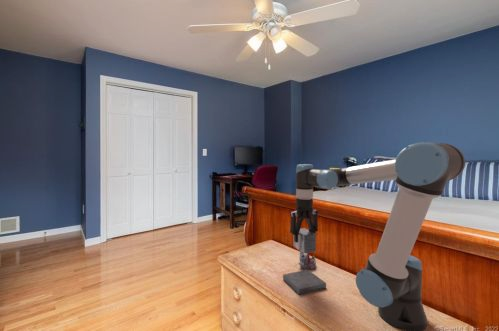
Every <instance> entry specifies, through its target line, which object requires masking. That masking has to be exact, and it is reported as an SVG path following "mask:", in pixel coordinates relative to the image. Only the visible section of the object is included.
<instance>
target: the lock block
mask: <svg viewBox="0 0 499 331" xmlns="http://www.w3.org/2000/svg"><path fill="white" fill-rule="evenodd" d="M299 235H300V250H299V252H300V251H302V252H303V253H309V254H310V253H313V252H317V251H316V250H317V244H316V243H317V238H316V237H317V233H313V232H311V231H309V229H307V228H306V227H303V228H300V232H299ZM293 247H294V248H295V249H296V242H295V241H294V240H293Z"/></svg>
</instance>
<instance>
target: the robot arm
mask: <svg viewBox="0 0 499 331" xmlns="http://www.w3.org/2000/svg"><path fill="white" fill-rule="evenodd" d="M465 167H466V158H465V155H464V153H463V152H462V151H461V150H460V148H458V147H456V146H454V145H452V144H449V143H443V142H432V141H431V142H429V141H422V142H416V143H412V144H409V145H407V146H406V147H404V148H403V149H401V150H400V151H399V153H398V154H397V155H396V158H393V159H389V160H382V161H377V162H371V163H365V164H358V165H354V166H349V167H342V168H331V169H330V168H329V169H315V168H314V165H313V164H308V163H307V164H306V163H303V164H301V163H300V164H297V165H296V169H295V177H296V178H295V183H296V184H295V186H296V187H295V191H296V192H295V197H296V198H295V206H296V209H295V210H294V211H290V213H289V214H290V229H289V230H290V231H289V232H290V234H292V235H293V242H294V241H295V242H296V248H295V249H297V250H298V251H300V235H299V232H300V229H301V227H302V223H303V221H304V220H306V224H307V227H308V230H309V231H311V232H313V233H316V232H318V231H319V228H318V226H319V225H318V214H319V211H318V209H313V206H314V199H313V198H314V187H316V188H323V189H334V188H335V187H339V186H349V185H359V184H368V183H378V182H379V183H380V182H387V181H395V185H397V187H398V191H397V193H396V197H395V199H394V202H393V205H392V207H391V210H390V213H389V216H388V219H387V220H386V221H387V222H386V224H385V226H384V230H383V233H382V236H381V238H380V241H379V244H378V246H377V249H376V253H375V252H374V253H371V254H370V255H369V256H368V259H367V261H366V265H365V268H362V269H360V270H359V271H358V272H357V274H355V285H356V287H357V289H358V291H359V294H360V295H361V297H362V298H363V299H364V300H365V301H366V302H368V303H369V304H370V305H372V306H374V307H377V312H378V315H379V316H380V318H382V320H384V321H385V322H386V323H387V324H388V325H391V326H393V327H395V328H397V329H400V330H403V331H424V330H426V329H427V327H428V318H427V314H426V312H425V309H424V306H423V303H422V293H423V292H422V289H423V288H422V287H423V285H422V284H423V265H422V261H421V260H420V259H419V258H417V257H416V256H413V255H412V254H411V253H412V251H413V249H414V245H416V244H415V243H416V241H417V239H418V236H419V234H420V231H421V229H422V226H423V224H424V221H425V218H426V216H427V213H428V211H429V208H430V206H431V204H432V201H433V200H434V199H436V198H439V197H441V196H442V195H443V192H444V190H445V187H446V185H447V183H448V181H451V180H454V179H456V178H458V177H459V176H460V175H461V174H462V173H463V172H464V170H465ZM316 234H317V233H316Z"/></svg>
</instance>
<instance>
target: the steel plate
mask: <svg viewBox="0 0 499 331" xmlns="http://www.w3.org/2000/svg"><path fill="white" fill-rule="evenodd" d="M282 280H283V281H284V283H286V284H287V285H288V286H289V288H291V289H292V290H293V291H294V292H295V293H296V294H297V295H299V296H301V295H306V294H309V293H313V292H317V291H321V290H325V289H327V282H325V281H324V280H323V279H321V278H320V277H319V276H318V275H316V274H314V273H313V272H312V271H311V270H310V269H304V270H299V271H294V272H289V273H283V275H282Z"/></svg>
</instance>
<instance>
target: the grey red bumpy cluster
mask: <svg viewBox="0 0 499 331" xmlns="http://www.w3.org/2000/svg"><path fill="white" fill-rule="evenodd" d="M298 259H299V262H297V264H298V265H300V266H301V268H302V269H304V270H315V268H316V266H317V261H316V258H315V255H312V257H310V252H309V253H303V252H302V251H300V250H299V258H298Z"/></svg>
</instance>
